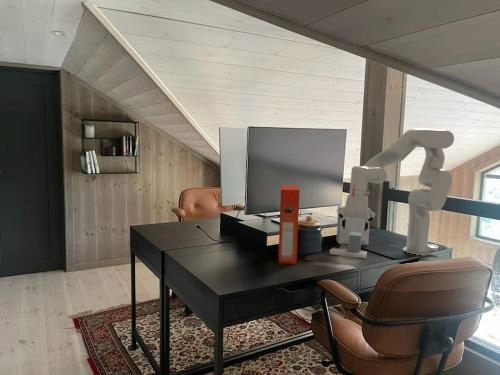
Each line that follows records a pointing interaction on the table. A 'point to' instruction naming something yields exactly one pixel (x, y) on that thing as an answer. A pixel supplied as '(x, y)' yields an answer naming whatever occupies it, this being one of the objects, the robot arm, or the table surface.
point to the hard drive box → (352, 228)
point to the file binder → (288, 224)
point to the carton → (354, 242)
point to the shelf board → (348, 253)
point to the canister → (309, 236)
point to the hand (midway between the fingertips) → (354, 229)
